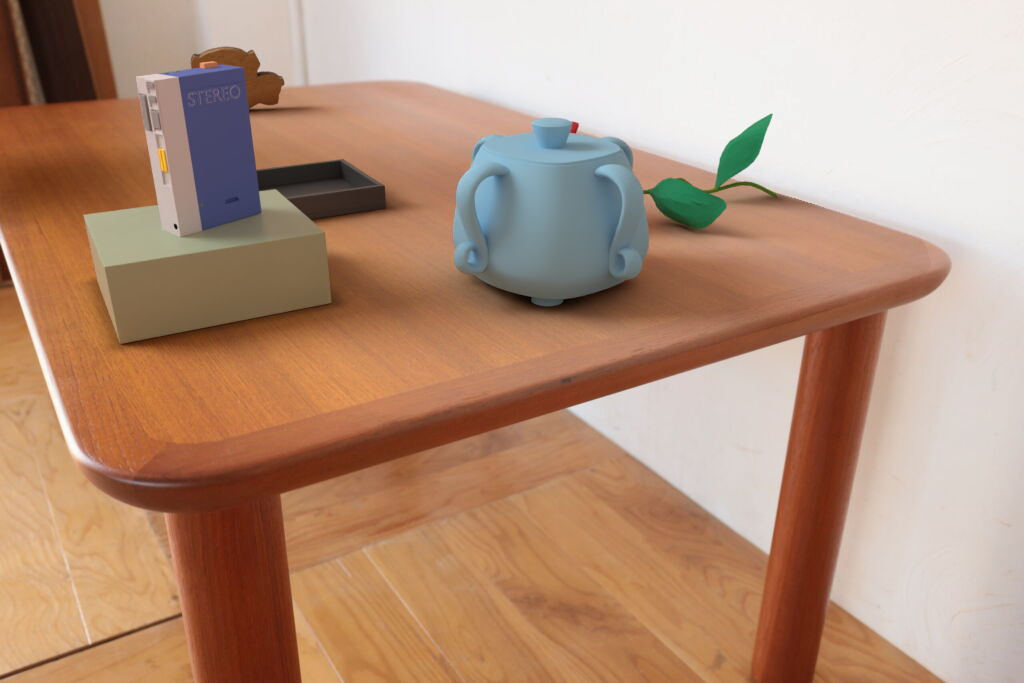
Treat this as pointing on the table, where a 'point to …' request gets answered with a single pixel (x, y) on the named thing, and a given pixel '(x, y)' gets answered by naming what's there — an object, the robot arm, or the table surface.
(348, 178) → the tray
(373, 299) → the table surface
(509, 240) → the decorative pot
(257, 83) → the wooden carving
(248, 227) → the block
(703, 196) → the decorative flower
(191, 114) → the walkman
